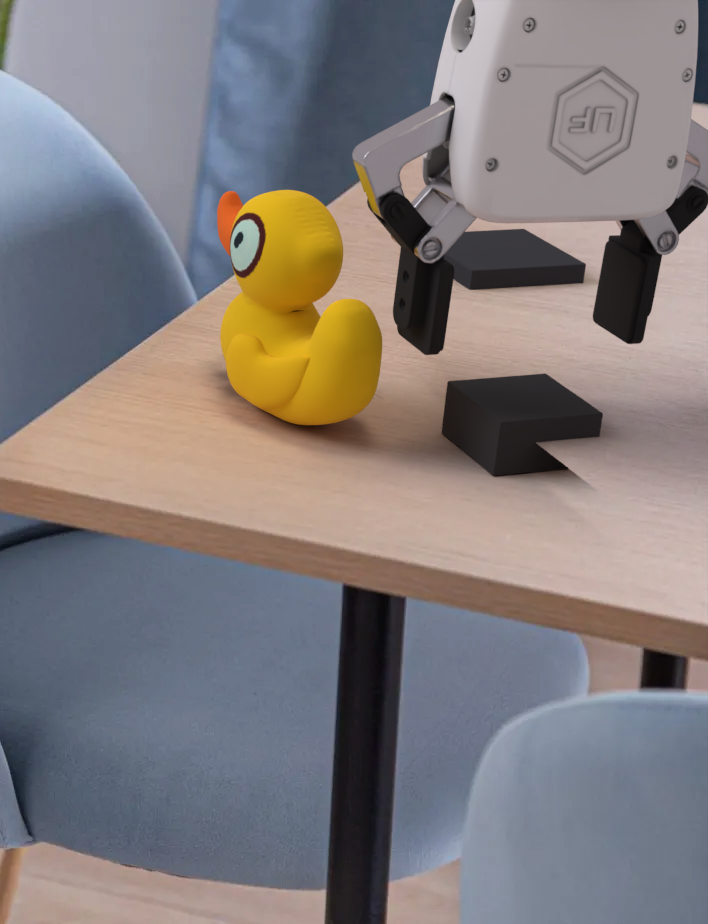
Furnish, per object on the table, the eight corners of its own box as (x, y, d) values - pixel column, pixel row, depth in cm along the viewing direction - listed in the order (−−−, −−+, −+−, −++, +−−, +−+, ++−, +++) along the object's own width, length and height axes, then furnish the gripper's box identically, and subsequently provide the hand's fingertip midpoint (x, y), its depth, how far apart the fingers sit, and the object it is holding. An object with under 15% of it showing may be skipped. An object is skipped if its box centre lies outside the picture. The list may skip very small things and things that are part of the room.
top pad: (538, 423, 81) (545, 372, 80) (594, 466, 77) (603, 413, 76) (440, 432, 80) (447, 380, 79) (492, 476, 75) (500, 422, 74)
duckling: (166, 378, 84) (176, 171, 80) (258, 362, 87) (273, 161, 83) (306, 464, 76) (326, 237, 71) (404, 443, 78) (429, 223, 74)
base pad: (518, 269, 103) (524, 228, 102) (579, 307, 97) (586, 263, 96) (410, 276, 101) (415, 233, 100) (466, 314, 95) (472, 270, 94)
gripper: (429, -68, 63) (373, 381, 70) (830, -56, 68) (739, 359, 76) (345, -96, 69) (301, 318, 77) (718, -83, 75) (644, 303, 82)
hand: (519, 338), depth 76 cm, fingers open, 9 cm apart
